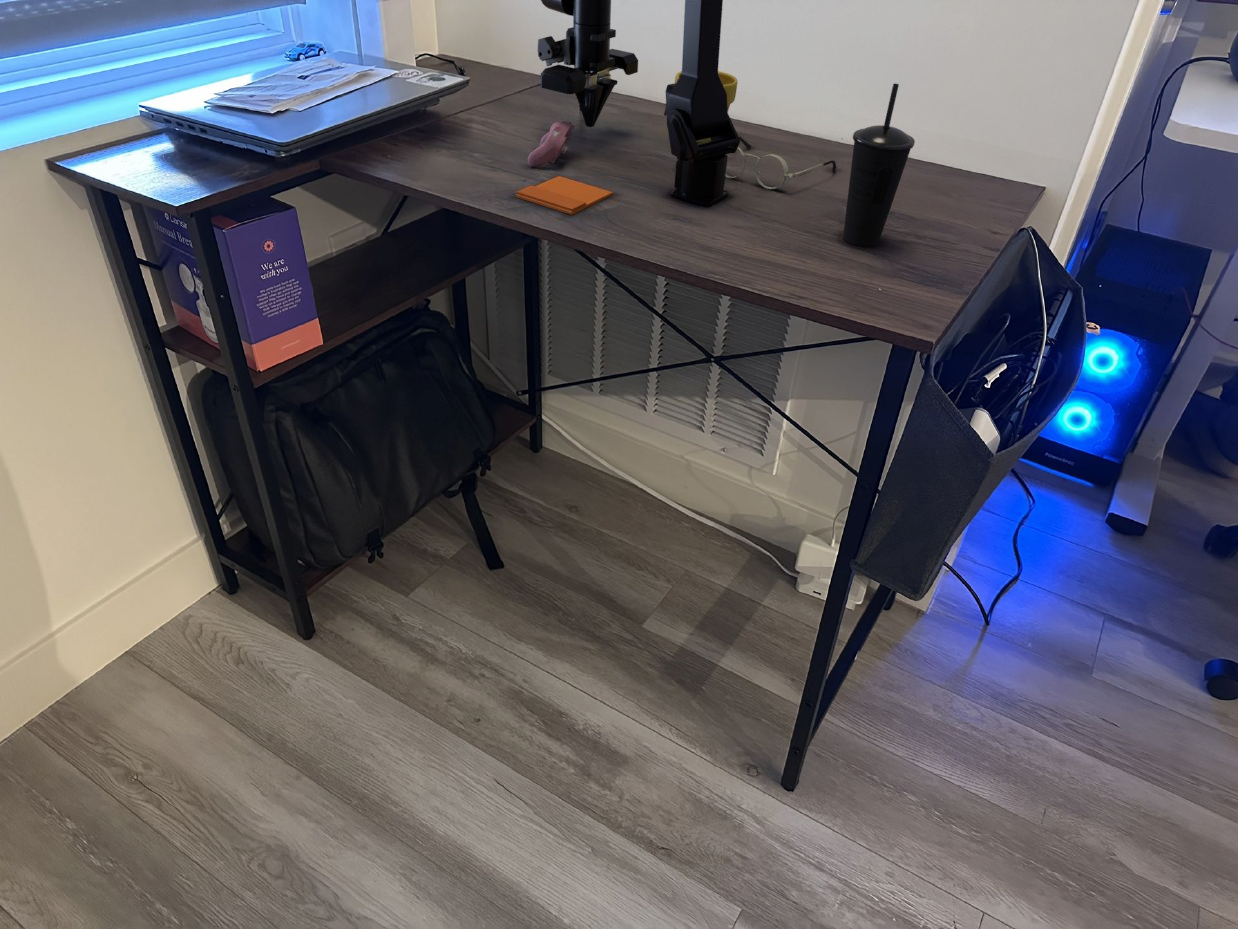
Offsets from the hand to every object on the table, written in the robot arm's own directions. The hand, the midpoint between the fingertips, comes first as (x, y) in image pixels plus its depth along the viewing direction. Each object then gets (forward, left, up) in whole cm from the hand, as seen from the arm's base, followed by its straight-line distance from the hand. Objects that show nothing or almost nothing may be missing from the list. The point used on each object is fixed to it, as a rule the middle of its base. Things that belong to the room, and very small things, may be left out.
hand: (589, 126), depth 144 cm
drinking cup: (-51, +7, -3) cm, 52 cm away
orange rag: (-11, +21, -3) cm, 24 cm away
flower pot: (-12, -16, -3) cm, 20 cm away
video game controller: (0, +10, -3) cm, 10 cm away
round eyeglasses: (-29, -9, -3) cm, 30 cm away
